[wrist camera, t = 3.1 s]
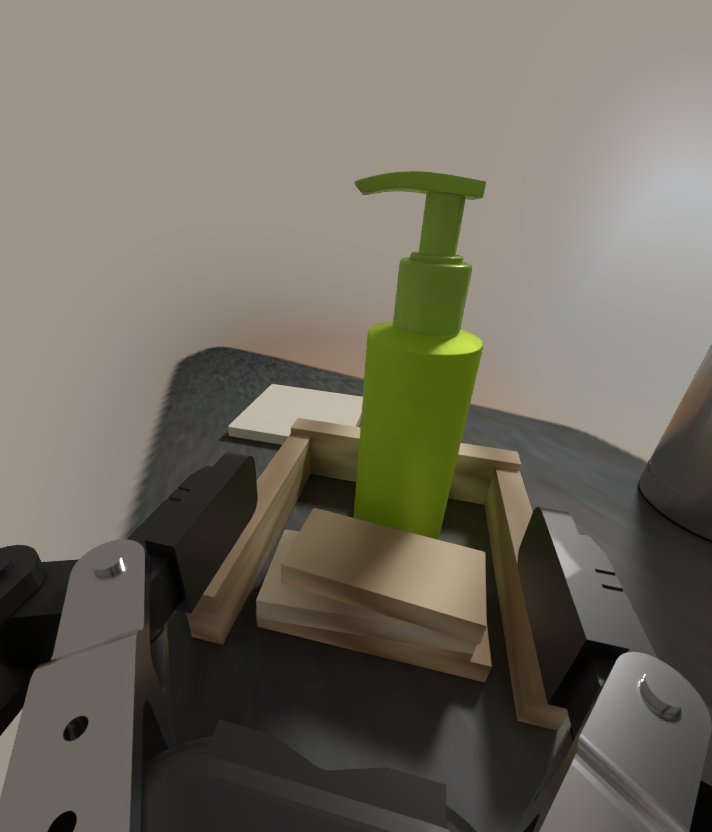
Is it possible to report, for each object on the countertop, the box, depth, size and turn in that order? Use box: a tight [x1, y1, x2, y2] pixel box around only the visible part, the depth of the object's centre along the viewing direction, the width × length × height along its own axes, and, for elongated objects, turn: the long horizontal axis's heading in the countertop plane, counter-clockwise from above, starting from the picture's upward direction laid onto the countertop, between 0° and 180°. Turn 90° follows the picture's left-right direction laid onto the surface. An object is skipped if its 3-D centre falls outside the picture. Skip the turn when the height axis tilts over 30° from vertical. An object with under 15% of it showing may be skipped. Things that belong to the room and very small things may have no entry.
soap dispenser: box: [354, 171, 486, 540], centre depth 20 cm, size 6×7×20 cm
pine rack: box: [186, 418, 568, 731], centre depth 23 cm, size 17×16×4 cm
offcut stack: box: [256, 508, 492, 682], centre depth 19 cm, size 11×5×4 cm, turn 78°
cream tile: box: [228, 384, 363, 445], centre depth 37 cm, size 11×10×1 cm
